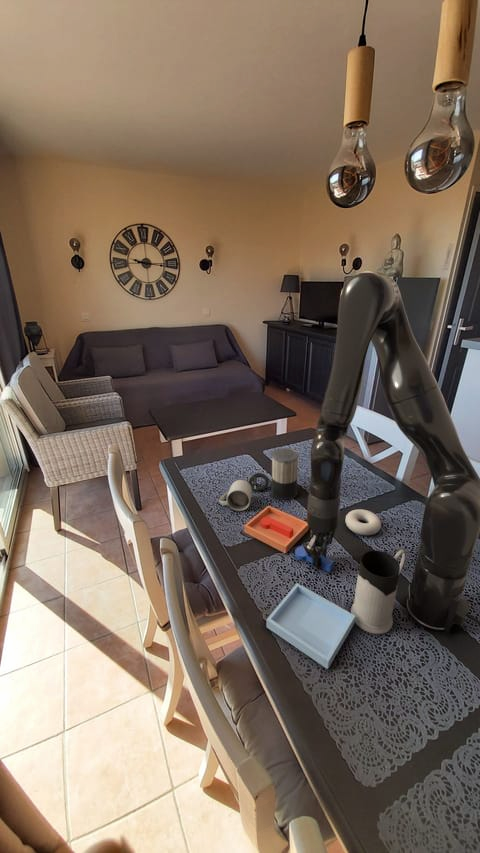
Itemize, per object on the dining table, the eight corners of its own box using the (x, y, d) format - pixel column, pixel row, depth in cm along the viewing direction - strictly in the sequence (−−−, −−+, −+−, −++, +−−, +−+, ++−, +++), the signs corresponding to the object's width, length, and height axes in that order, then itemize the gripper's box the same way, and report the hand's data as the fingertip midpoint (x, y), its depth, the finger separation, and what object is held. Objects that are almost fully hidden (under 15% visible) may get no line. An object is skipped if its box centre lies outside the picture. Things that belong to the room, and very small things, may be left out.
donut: (345, 536, 103) (382, 539, 101) (346, 526, 102) (384, 529, 100) (343, 514, 112) (377, 517, 110) (344, 505, 111) (378, 508, 109)
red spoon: (295, 532, 104) (295, 526, 103) (287, 540, 101) (288, 533, 100) (265, 519, 110) (265, 513, 109) (258, 525, 107) (258, 519, 107)
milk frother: (302, 497, 121) (303, 458, 115) (256, 505, 117) (256, 465, 112) (287, 476, 133) (287, 440, 128) (245, 483, 130) (244, 446, 124)
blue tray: (354, 623, 78) (355, 615, 77) (327, 669, 69) (328, 661, 68) (296, 590, 86) (296, 582, 85) (266, 627, 77) (266, 619, 76)
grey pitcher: (342, 612, 80) (348, 560, 74) (380, 581, 88) (388, 532, 82) (377, 641, 74) (386, 587, 68) (414, 605, 81) (426, 554, 75)
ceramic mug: (252, 496, 122) (251, 477, 119) (250, 511, 115) (249, 491, 112) (221, 496, 123) (220, 476, 120) (217, 510, 116) (216, 490, 113)
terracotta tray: (308, 529, 106) (309, 523, 105) (285, 553, 97) (285, 546, 96) (268, 511, 114) (268, 505, 113) (244, 532, 106) (244, 525, 105)
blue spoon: (334, 565, 93) (335, 559, 92) (328, 574, 90) (328, 568, 89) (299, 548, 99) (300, 542, 98) (292, 556, 96) (292, 549, 95)
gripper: (324, 529, 79) (319, 587, 86) (350, 499, 89) (344, 554, 96) (294, 516, 84) (292, 572, 91) (322, 489, 94) (318, 542, 100)
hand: (319, 562), depth 93 cm, fingers closed on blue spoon, 2 cm apart
